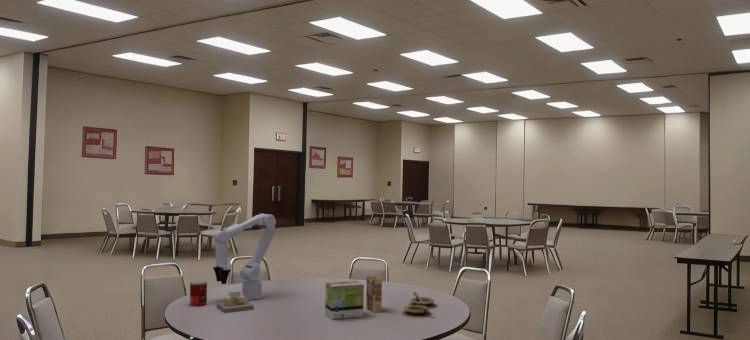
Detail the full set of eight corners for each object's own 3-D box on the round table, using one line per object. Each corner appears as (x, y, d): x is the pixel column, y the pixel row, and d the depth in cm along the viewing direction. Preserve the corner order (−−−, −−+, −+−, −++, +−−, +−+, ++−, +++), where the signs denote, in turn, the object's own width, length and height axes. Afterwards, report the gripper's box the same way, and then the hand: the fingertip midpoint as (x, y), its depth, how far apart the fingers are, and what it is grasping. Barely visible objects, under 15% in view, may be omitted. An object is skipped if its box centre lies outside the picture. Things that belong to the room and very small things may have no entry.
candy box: (382, 311, 264) (382, 278, 264) (374, 312, 262) (374, 279, 262) (374, 307, 272) (374, 275, 272) (365, 308, 270) (366, 276, 270)
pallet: (241, 302, 273) (241, 294, 273) (244, 304, 268) (244, 296, 268) (224, 304, 268) (225, 296, 268) (228, 306, 264) (228, 298, 264)
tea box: (332, 320, 248) (332, 286, 248) (324, 314, 258) (324, 282, 258) (363, 316, 254) (364, 283, 254) (355, 311, 264) (355, 279, 264)
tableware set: (405, 303, 285) (405, 291, 285) (444, 305, 280) (444, 293, 280) (393, 317, 256) (393, 304, 256) (436, 320, 251) (436, 307, 251)
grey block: (238, 295, 271) (238, 289, 271) (240, 296, 268) (240, 291, 268) (229, 296, 269) (229, 290, 269) (231, 297, 266) (231, 292, 266)
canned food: (202, 306, 272) (202, 283, 272) (186, 305, 273) (186, 283, 273) (209, 303, 279) (210, 280, 279) (195, 302, 281) (195, 280, 281)
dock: (245, 304, 277) (245, 299, 277) (253, 309, 267) (253, 304, 267) (216, 307, 270) (216, 303, 270) (224, 313, 260) (224, 308, 260)
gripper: (209, 253, 284) (209, 280, 284) (217, 257, 272) (217, 285, 272) (223, 252, 288) (223, 279, 288) (232, 256, 276) (232, 284, 275)
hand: (221, 282), depth 280 cm, fingers open, 7 cm apart
